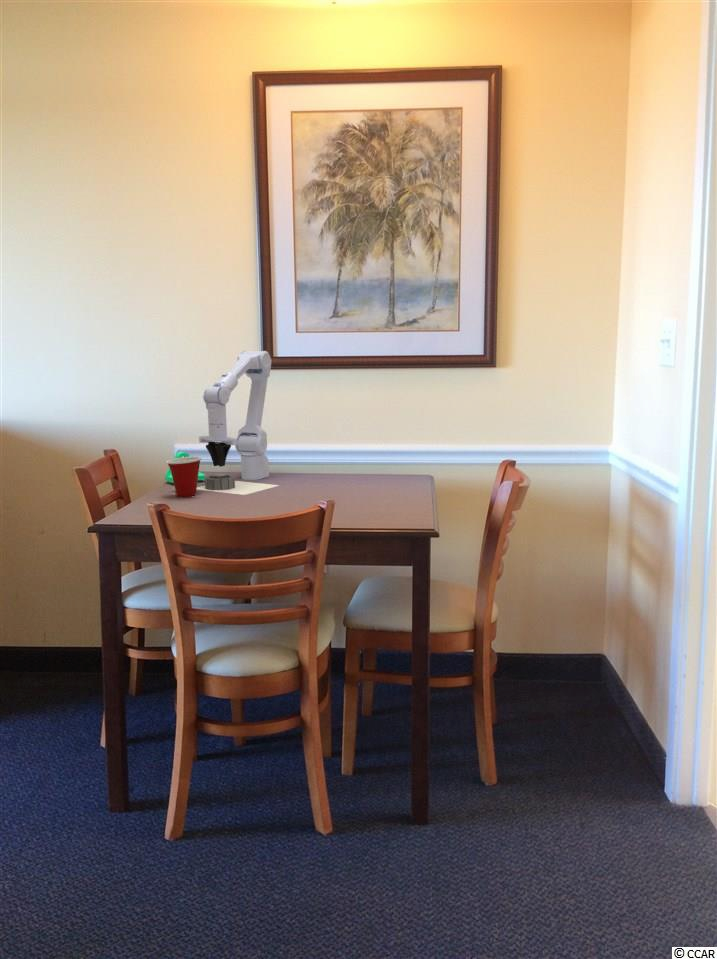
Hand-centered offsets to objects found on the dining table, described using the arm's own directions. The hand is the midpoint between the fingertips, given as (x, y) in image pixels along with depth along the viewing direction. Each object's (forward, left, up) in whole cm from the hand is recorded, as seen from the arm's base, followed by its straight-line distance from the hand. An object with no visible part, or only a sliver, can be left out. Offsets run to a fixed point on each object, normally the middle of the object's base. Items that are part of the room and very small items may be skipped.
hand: (219, 465), depth 282 cm
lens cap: (0, 0, -7) cm, 7 cm away
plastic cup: (+13, -3, -8) cm, 16 cm away
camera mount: (-6, -20, -8) cm, 22 cm away
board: (-3, +4, -8) cm, 9 cm away
